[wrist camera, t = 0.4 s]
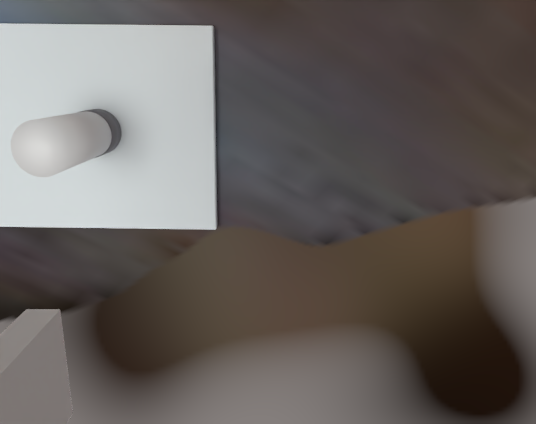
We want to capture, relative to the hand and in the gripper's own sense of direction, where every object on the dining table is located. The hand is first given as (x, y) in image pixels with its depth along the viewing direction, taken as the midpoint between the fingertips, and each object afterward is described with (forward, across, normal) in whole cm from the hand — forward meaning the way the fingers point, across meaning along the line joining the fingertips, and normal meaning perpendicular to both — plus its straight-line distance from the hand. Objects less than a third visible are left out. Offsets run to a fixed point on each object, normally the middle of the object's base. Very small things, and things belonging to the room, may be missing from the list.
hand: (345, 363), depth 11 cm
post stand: (+25, -14, +3) cm, 29 cm away
